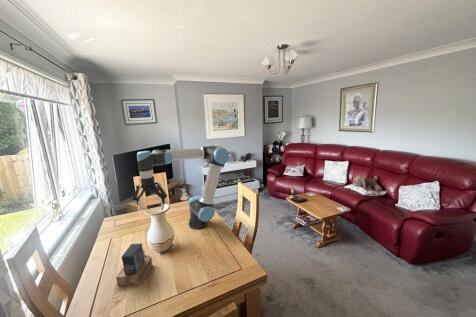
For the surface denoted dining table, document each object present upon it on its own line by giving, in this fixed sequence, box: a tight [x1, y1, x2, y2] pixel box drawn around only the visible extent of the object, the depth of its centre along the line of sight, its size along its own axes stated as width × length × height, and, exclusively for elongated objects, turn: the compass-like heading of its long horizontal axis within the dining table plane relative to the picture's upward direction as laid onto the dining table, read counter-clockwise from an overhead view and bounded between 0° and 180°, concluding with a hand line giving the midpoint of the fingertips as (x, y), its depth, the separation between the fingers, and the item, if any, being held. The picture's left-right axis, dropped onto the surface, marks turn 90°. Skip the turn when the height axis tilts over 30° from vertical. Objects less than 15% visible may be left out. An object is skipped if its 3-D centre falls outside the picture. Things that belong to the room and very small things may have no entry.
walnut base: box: [115, 256, 153, 287], centre depth 108 cm, size 12×14×5 cm
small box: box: [121, 243, 145, 274], centre depth 106 cm, size 11×6×10 cm, turn 3°
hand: (152, 209), depth 124 cm, fingers open, 13 cm apart
